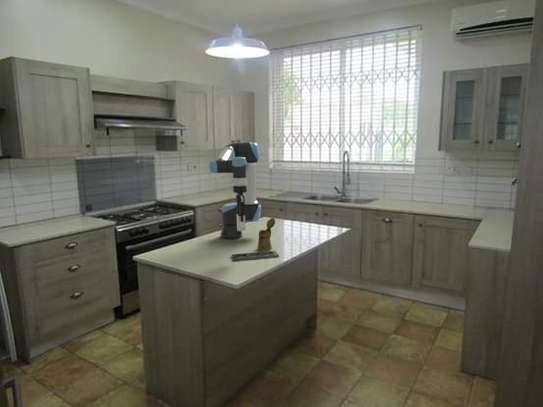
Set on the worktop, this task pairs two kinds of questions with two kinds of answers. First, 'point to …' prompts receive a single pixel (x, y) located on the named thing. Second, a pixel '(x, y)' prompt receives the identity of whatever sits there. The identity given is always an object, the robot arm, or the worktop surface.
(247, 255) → the dark grey slotted board
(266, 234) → the wooden mug
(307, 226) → the worktop surface
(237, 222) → the steel peg
